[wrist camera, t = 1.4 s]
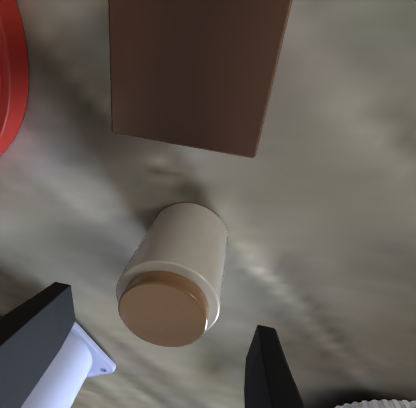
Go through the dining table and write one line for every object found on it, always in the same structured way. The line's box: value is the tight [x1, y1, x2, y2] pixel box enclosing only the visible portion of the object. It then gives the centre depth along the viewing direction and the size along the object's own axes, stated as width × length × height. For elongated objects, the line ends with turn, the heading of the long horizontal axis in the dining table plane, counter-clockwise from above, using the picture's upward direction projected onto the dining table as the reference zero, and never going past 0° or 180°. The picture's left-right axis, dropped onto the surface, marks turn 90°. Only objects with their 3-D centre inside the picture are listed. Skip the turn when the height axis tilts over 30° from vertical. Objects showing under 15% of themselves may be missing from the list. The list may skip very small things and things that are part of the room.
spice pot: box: [116, 203, 228, 347], centre depth 13 cm, size 4×4×6 cm
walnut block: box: [108, 0, 292, 158], centre depth 9 cm, size 4×4×5 cm
